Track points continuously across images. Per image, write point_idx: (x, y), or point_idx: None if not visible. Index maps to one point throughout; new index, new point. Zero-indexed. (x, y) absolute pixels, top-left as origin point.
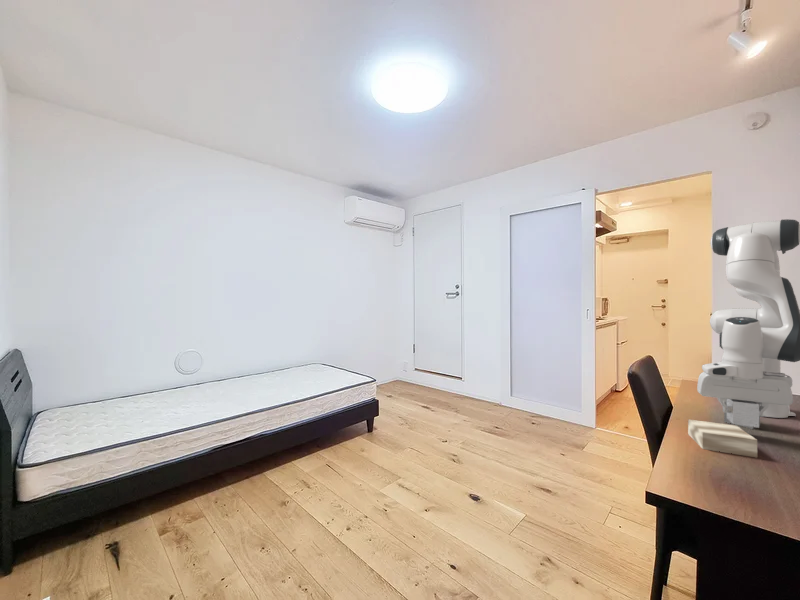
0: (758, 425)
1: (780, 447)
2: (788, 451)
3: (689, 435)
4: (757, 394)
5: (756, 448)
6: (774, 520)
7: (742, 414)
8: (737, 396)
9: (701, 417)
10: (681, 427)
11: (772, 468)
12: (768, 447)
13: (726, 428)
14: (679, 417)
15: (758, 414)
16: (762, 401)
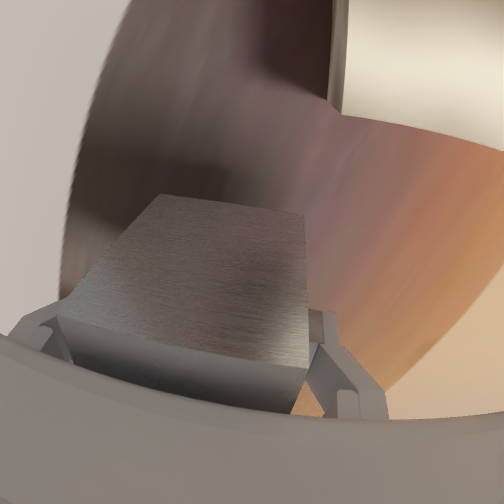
0: (156, 201)
1: (130, 102)
2: (121, 56)
3: None
4: (11, 430)
5: None
6: None
7: (234, 253)
8: (230, 447)
9: (301, 391)
10: (490, 241)
11: None
12: (189, 67)
13: (458, 14)
14: (399, 368)
15: (115, 244)
16: (21, 353)
